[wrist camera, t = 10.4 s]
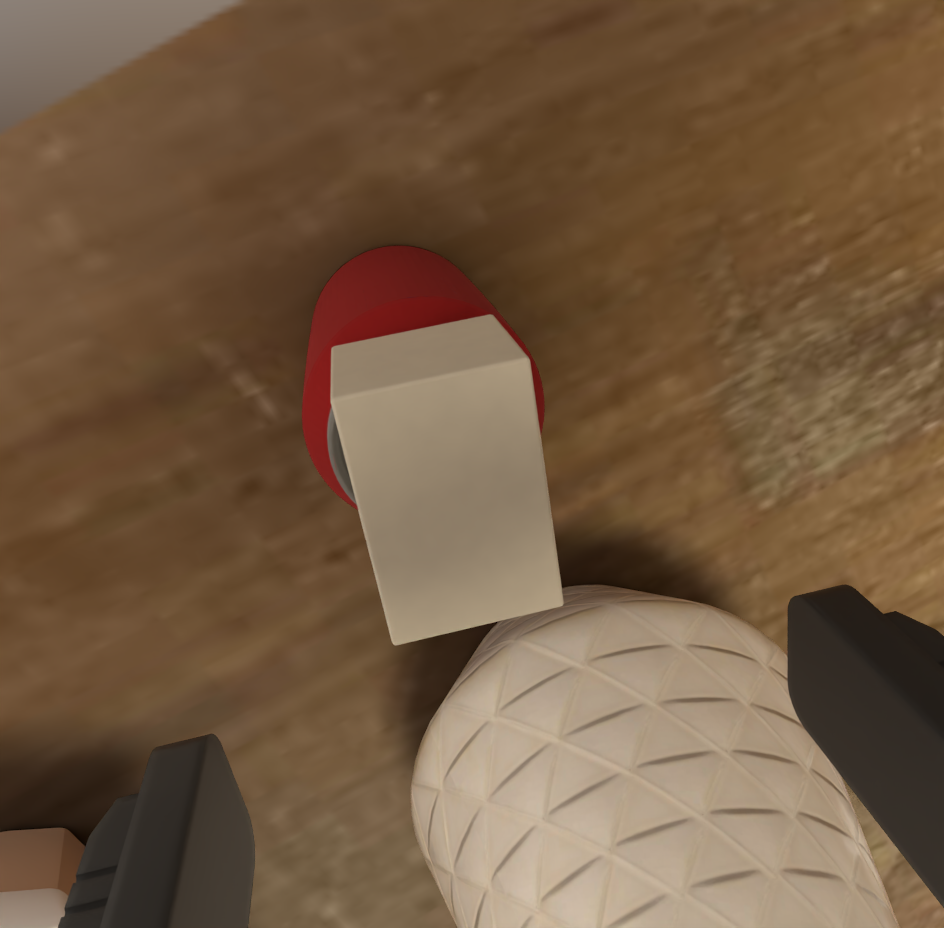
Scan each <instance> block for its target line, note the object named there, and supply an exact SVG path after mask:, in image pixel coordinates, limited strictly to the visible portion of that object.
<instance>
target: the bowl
mask: <svg viewBox="0 0 944 928" xmlns="http://www.w3.org/2000/svg"><path fill="white" fill-rule="evenodd" d="M84 850H85V846H84V845H83V844H82V843H81V842H80V841H79V840H78V839H77V838H76V837H75V836H74V835H73V834H72V833H71V832H70V831H69V830H67V829H65V828H45V829H30V830H14V831H5V832H0V928H58V925H59V922H60V919H61V917H64V916H65V909H64V908H65V905H66V902H67V899H68V896H69V893H70V890H71V887H72V884H73V883H76V873H77V870H78V867H79V864H80V861H81V858H82V855H83V853H84Z"/></svg>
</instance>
